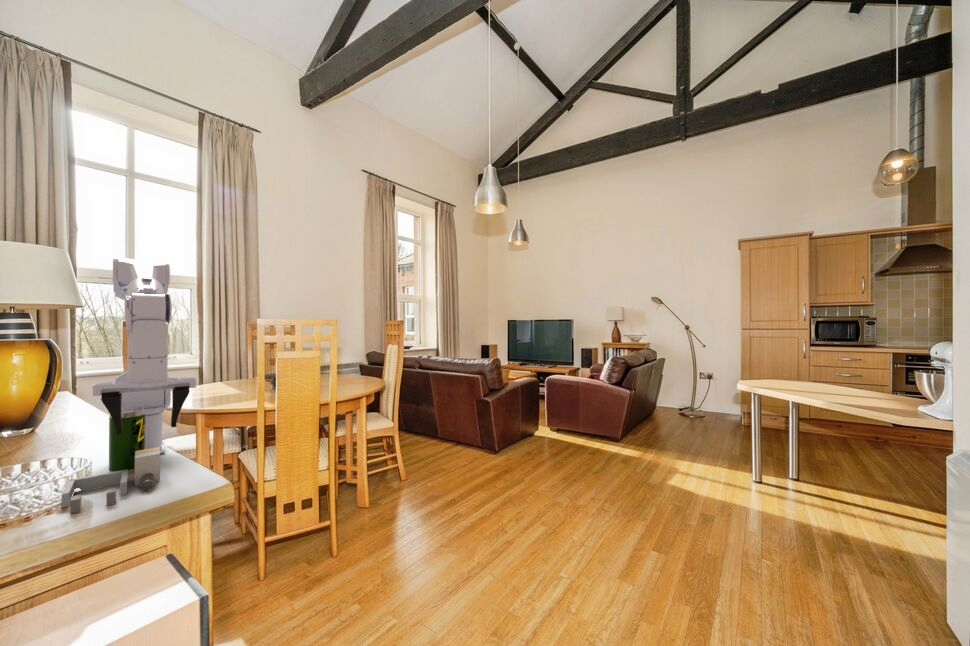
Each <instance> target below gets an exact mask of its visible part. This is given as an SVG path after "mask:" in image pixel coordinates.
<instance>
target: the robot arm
mask: <svg viewBox="0 0 970 646" xmlns="http://www.w3.org/2000/svg"><path fill="white" fill-rule="evenodd" d="M170 274H171V268H170V264H169V263H168V262H167V261H156V260H144V259H133V258H124V257H122V258H121V257H119V256H118V257H117V256H116V257H114V258H113V259H112V284H113V293H114V296H115V297H116V298H117V299H120V300H122V301H124V321H125V326H126V334H127V356H126V357H127V359H126V360H127V361H126V363H127V365H126V367H127V370H126V371H125V372H123V373H121V374H120V375H118V376H116V377H114V380H113V381H112V382H101V383H93V385H92V397H99V396H101V398H100V400H101V402H102V404H103V405H104V406H105V408H106V410H107V411H108V413H109V416H110V415H111V417H112V419H113V422H114V424H115V428H116V434H117V435H119V434H122V416H121V409H123V408H133V407H142V408H144V411H145V413H146V432H145V449H151V448H157V447H160V455H161V454H165V453H166V449H165V448H164V449H163V447H162V446H164V447H165V441H164V440H163V415H164V412H165V410H166V409H168V408H169V407H170V406H171V401H172V406H171V407H172V409H171V417H170V418H171V419H170V421H171V422H170V427H171V428H176V427H177V423H178V419H179V415H180V412H181V409H182V407H183V406H184V403H185V401H186V400H187V398H188V396H189V394H190V389H193V388H194V389H195V388H197V377H196V376H187V377H169V376H168V365H169V364H168V359H169V358H168V347H169V340H168V339H169V336H168V335H169V330H168V329H169V326H168V324H170V322H171V319H172V311H173V310H172V309H173V306H172V300H171V296H170V295H171V294H170V293H168V292H169V286H170V281H171V280H170V278H171V275H170ZM171 391H172V392H171ZM171 393H172V394H171ZM171 395H172V397H171ZM171 398H172V399H171ZM161 445H162V446H161Z"/></svg>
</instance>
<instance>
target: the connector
mask: <svg viewBox="0 0 970 646" xmlns="http://www.w3.org/2000/svg"><path fill="white" fill-rule="evenodd" d="M160 478H161V454H160V447H157V448H151V449H144V450H138V451H135V472H134V486H138V485H139V486H140V488H141V489H140V490H142V491H150V490H151V489H153V487H154V486H155V482H159V480H161V479H160Z"/></svg>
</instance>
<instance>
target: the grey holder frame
mask: <svg viewBox="0 0 970 646" xmlns="http://www.w3.org/2000/svg"><path fill="white" fill-rule="evenodd" d="M117 485H120V486H119V488H120V489H119V490H120V491H119V492H120V493H119V495H120V497H122V496H127V495H128V485H129V473H128V469H127V470H121V471H116V472H110V471H109V472H106V473H100V474H95V475H94V474H93V475H89V476H82V477H78V478H73V479H67V482H66V485H65V487H64V489H63V491H62V493H61V509H64V508H69V507H70V509H69V513H70V514H71V515H72V514H76V513H80V512H81V509H82V494H77V495H74V496H72V494H73V492H74V489H76V488H80V489H81V492H87V491H91V490H95V489H102V488H106V487H113V486H117ZM116 489H117V488H116V487H113V488H108V489H107V490H106V499H105V500H106V507H108V506H112V505H116V499H117V497H116V496H117V495H116V493H117V491H116ZM71 497H72V498H71Z"/></svg>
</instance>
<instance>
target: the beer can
mask: <svg viewBox="0 0 970 646" xmlns="http://www.w3.org/2000/svg"><path fill="white" fill-rule="evenodd" d="M121 416H122V434H119V435H117V434H116V428H115V424H114V422H113V419H112V417H111V415H110V414H109V417H108V419H109V420H108V428H109V429H108V471H109V473H110V472H116V471H121V470H127V469H128V474H132V473H135V451H138V450H144V449H145V432H146V413H145V411H144V408H142V407H133V408H123V409H121Z"/></svg>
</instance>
